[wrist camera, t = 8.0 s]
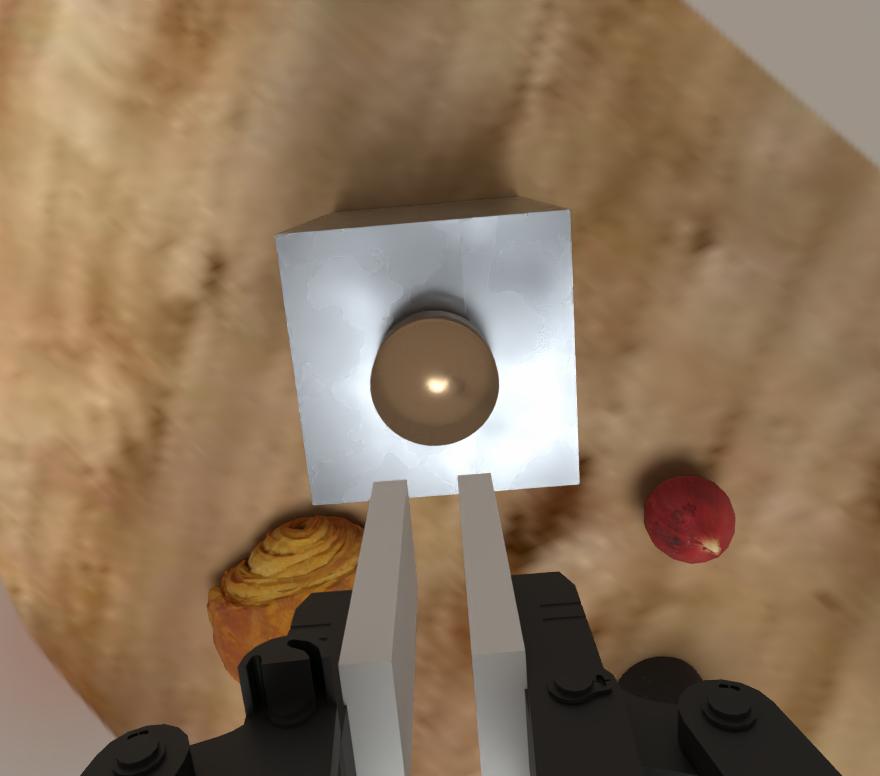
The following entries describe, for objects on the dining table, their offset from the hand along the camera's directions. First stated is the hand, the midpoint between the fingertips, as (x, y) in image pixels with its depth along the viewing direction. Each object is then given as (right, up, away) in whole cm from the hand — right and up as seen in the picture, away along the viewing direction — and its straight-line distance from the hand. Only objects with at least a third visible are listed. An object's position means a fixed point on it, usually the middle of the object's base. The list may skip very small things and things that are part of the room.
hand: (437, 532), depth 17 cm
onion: (+17, -5, +37) cm, 41 cm away
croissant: (-9, -13, +40) cm, 43 cm away
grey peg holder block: (0, +9, +33) cm, 34 cm away
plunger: (0, +9, +32) cm, 33 cm away
